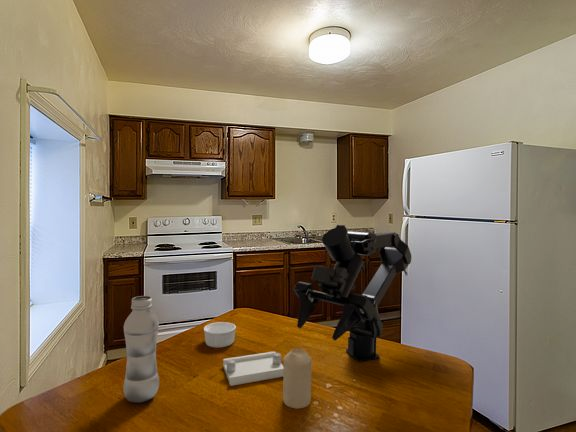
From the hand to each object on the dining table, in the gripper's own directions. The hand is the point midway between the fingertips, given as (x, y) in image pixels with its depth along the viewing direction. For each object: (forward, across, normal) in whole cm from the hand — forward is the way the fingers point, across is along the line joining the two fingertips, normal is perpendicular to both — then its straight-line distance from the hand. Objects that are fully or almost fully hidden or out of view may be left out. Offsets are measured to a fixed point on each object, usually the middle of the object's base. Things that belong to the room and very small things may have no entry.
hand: (315, 333), depth 69 cm
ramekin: (+8, -34, +9) cm, 36 cm away
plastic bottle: (+27, -23, -10) cm, 37 cm away
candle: (+13, 0, +4) cm, 13 cm away
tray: (+11, -15, +6) cm, 19 cm away
